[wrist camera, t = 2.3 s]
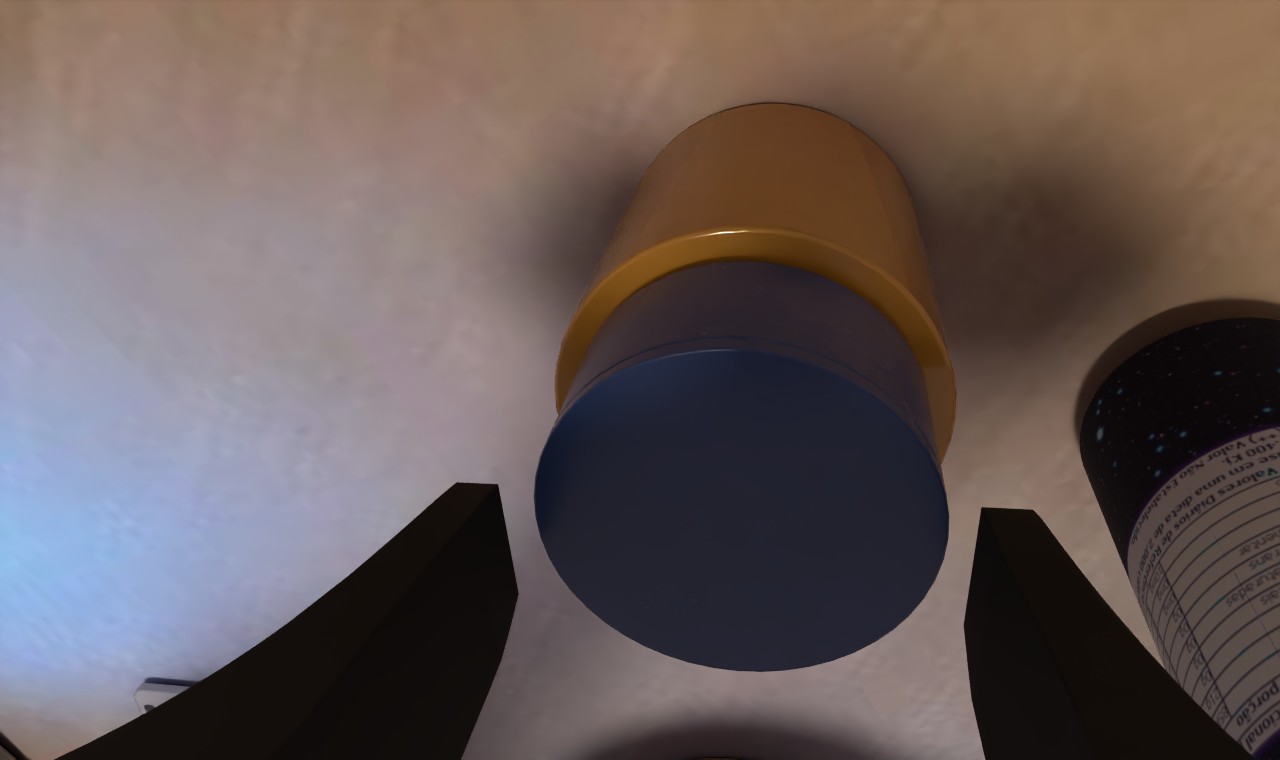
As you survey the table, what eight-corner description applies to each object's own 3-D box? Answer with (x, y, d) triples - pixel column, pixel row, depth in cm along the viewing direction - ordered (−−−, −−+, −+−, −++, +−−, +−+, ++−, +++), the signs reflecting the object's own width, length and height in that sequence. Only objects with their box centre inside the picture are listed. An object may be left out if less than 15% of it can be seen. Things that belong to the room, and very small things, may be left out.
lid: (913, 567, 16) (929, 691, 14) (593, 548, 17) (558, 660, 15) (946, 260, 13) (973, 353, 11) (557, 259, 14) (505, 344, 12)
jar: (906, 375, 22) (952, 689, 14) (637, 368, 23) (541, 655, 15) (930, 98, 19) (1011, 305, 11) (615, 107, 20) (477, 299, 12)
